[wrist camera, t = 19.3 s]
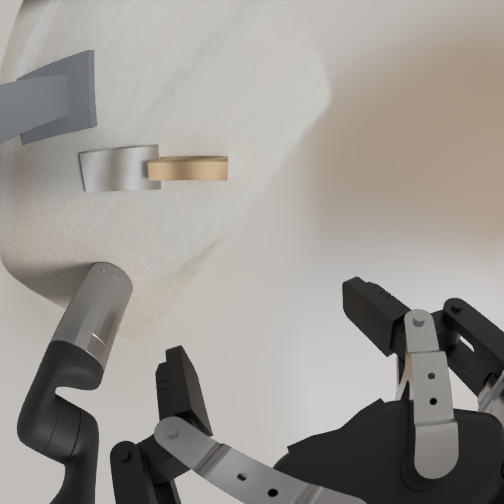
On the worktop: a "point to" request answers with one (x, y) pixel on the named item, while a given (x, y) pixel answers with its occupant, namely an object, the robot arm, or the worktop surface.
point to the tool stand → (50, 100)
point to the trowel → (144, 168)
